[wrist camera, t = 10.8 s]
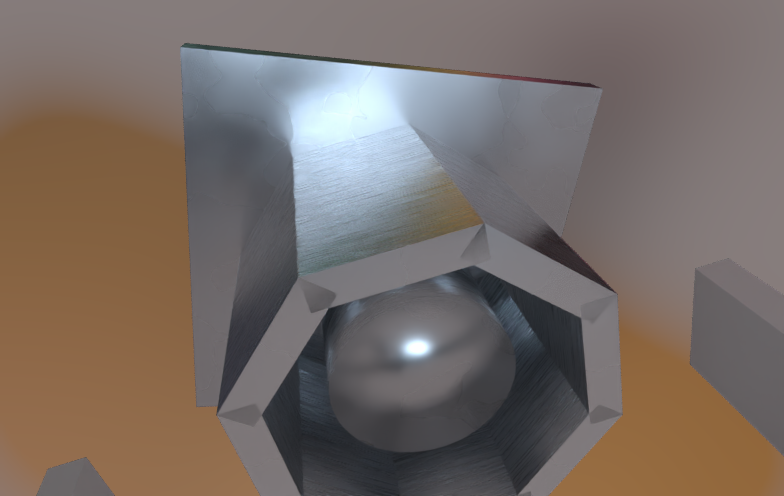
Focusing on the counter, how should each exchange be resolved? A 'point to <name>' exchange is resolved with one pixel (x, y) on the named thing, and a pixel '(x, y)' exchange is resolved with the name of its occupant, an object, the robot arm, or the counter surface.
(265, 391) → the grey piece
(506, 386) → the square plate with knob
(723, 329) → the robot arm
